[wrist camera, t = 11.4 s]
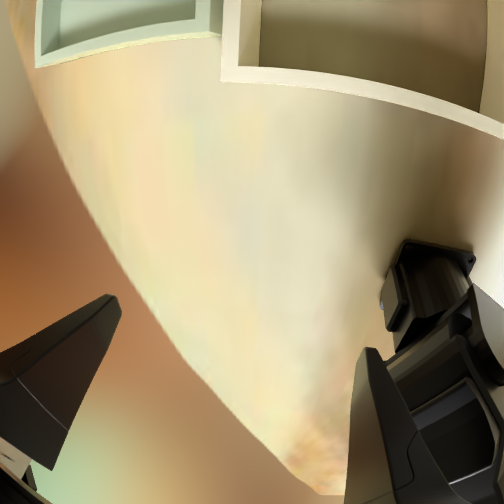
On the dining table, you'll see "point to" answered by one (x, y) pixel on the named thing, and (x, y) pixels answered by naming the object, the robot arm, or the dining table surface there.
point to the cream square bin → (248, 71)
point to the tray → (118, 25)
